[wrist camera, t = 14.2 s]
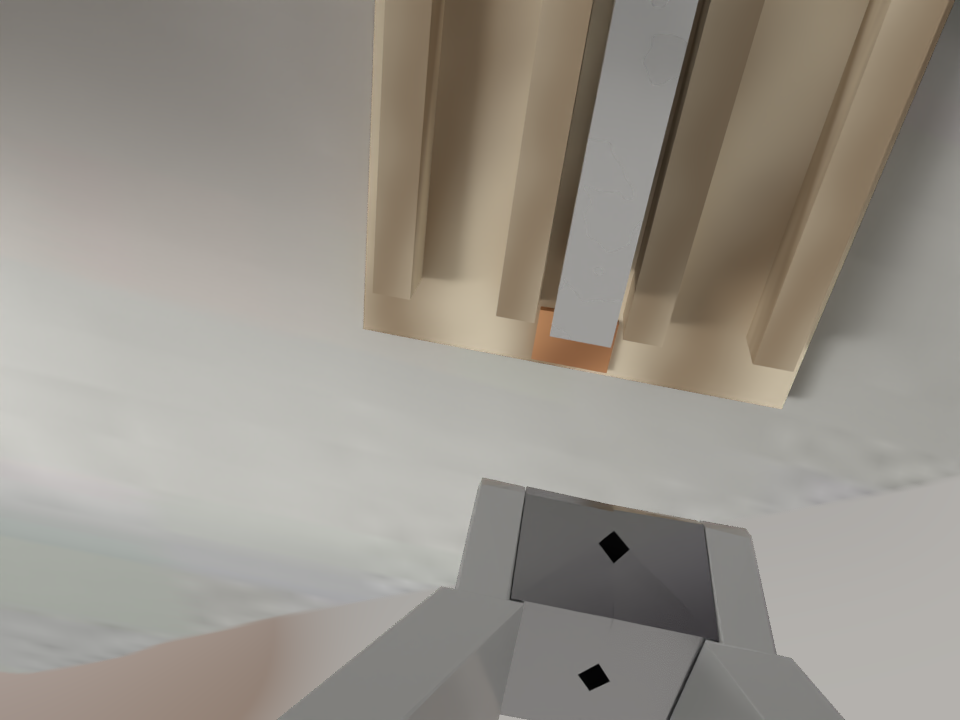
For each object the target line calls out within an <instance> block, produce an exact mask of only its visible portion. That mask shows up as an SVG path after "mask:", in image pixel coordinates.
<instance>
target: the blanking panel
mask: <svg viewBox="0 0 960 720" xmlns="http://www.w3.org/2000/svg"><path fill="white" fill-rule="evenodd" d="M698 1H699V0H614V5H613V10H612V15H611V20H610V25H609V31H608V36H607V41H606V46H605V51H604V56H603V61H602V66H601V71H600V76H599V82H598V87H597V92H596V97H595V102H594V107H593V112H592V117H591V122H590V127H589V133H588V138H587V143H586V148H585V153H584V158H583V163H582V168H581V173H580V178H579V184H578V189H577V194H576V199H575V204H574V209H573V214H572V219H571V224H570V229H569V235H568V240H567V245H566V250H565V255H564V260H563V266H562V271H561V277H560V282H559V287H558V293H557V298H556V304H555V309H554V315H553V320H552V326H551V331H550V336H551V337H556V338H562V339H567V340H572V341H577V342H583V343H588V344H593V345H599V346H604V347H609V348H611V345H612V341H613V337H614V333H615V329H616V326H617V322H618V318H619V314H620V310H621V306H622V302H623V298H624V294H625V290H626V286H627V282H628V278H629V274H630V270H631V266H632V262H633V258H634V254H635V250H636V246H637V242H638V238H639V234H640V230H641V226H642V222H643V219H644V215H645V211H646V207H647V203H648V199H649V195H650V191H651V187H652V183H653V179H654V175H655V171H656V167H657V163H658V159H659V155H660V151H661V147H662V143H663V139H664V135H665V131H666V127H667V123H668V119H669V115H670V111H671V108H672V104H673V100H674V96H675V92H676V88H677V84H678V80H679V76H680V72H681V68H682V64H683V60H684V56H685V52H686V48H687V44H688V40H689V36H690V32H691V28H692V24H693V20H694V16H695V12H696V8H697V4H698Z"/></svg>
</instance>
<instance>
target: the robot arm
mask: <svg viewBox="0 0 960 720" xmlns="http://www.w3.org/2000/svg"><path fill="white" fill-rule="evenodd" d="M500 714H501V715H506V716H512V717H517V718H522V719H528V720H845V719H844V718H843V717H842V716H841V715H840V713H838V711H837V710H836V709H835V708H834V707H833V705H832V704H831V703H830V702H829V701H828V700H827V698H826V697H825V696H824V695H823V694H822V693H821V692H820V690H819V689H818V688H817V687H816V686H815V685H814V684H813V682H812V681H811V680H810V679H809V678H808V677H807V675H806V674H805V673H804V672H803V671H802V670H801V668H800V667H799V666H798V665H797V664H796V663H795V662H794V660H793V659H792V658H789V657H784V656H780V655H777V654H776V649H775V644H774V640H773V635H772V630H771V626H770V622H769V616H768V612H767V607H766V602H765V598H764V593H763V589H762V584H761V579H760V574H759V570H758V565H757V560H756V555H755V551H754V546H753V541H752V537H751V535H750V534H749V532H748V531H747V530H746V529H744V528H739V527H733V526H728V525H722V524H716V523H711V522H705V521H700V522H698V521H696V520H691V519H685V518H680V517H675V516H669V515H664V514H659V513H653V512H648V511H643V510H637V509H632V508H626V507H621V506H616V505H610V504H605V503H600V502H596V501H591V500H587V499H582V498H578V497H573V496H568V495H564V494H559V493H555V492H550V491H545V490H541V489H536V488H532V487H526V491H525V487H523V486H518V485H514V484H509V483H505V482H500V481H496V480H491V479H487V478H482V480H481V482H480V484H479V486H478V490H477V495H476V499H475V503H474V508H473V512H472V516H471V521H470V525H469V529H468V534H467V538H466V542H465V547H464V551H463V555H462V560H461V564H460V568H459V573H458V577H457V581H456V586H455V589H453V588H447V587H442V586H441V587H440V588H439V589H437V590H436V591H435V592H434V593H433V594H431V595H430V596H429V597H428V598H426V599H425V600H424V601H423V602H422V603H420V604H419V605H418V606H417V607H415V608H414V609H413V610H412V611H410V612H409V613H408V614H407V615H405V616H404V617H403V618H402V619H401V620H399V621H398V622H397V623H395V625H393V626H392V627H391V628H389V629H388V630H387V631H386V632H384V633H383V634H382V635H381V636H379V637H378V638H377V639H376V640H375V641H373V642H372V643H371V644H370V645H368V646H367V647H366V648H365V649H364V650H362V651H361V652H360V653H358V654H357V655H356V656H355V657H354V658H353V659H351V660H350V661H349V662H347V663H346V664H345V665H344V666H342V667H341V668H340V669H339V670H338V671H336V672H335V673H334V674H333V675H331V676H330V677H329V678H328V679H326V680H325V681H324V682H323V683H322V684H320V685H319V686H318V687H317V688H315V689H314V690H313V691H312V692H310V693H309V694H308V695H307V696H306V697H304V698H303V699H302V700H300V701H299V702H298V703H297V704H296V705H294V706H293V707H292V708H291V709H289V710H288V711H287V712H286V713H285V714H283V715H282V716H281V717H279V718H278V719H277V720H498V719H499V715H500Z"/></svg>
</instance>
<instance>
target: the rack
mask: <svg viewBox="0 0 960 720" xmlns="http://www.w3.org/2000/svg"><path fill="white" fill-rule="evenodd" d="M954 2H955V0H699V1H698V4H697V8H696V12H695V16H694V20H693V24H692V28H691V32H690V36H689V40H688V44H687V48H686V52H685V56H684V60H683V64H682V68H681V72H680V76H679V80H678V84H677V88H676V92H675V96H674V100H673V104H672V108H671V111H670V115H669V119H668V123H667V127H666V131H665V135H664V139H663V143H662V147H661V151H660V155H659V159H658V163H657V167H656V171H655V175H654V179H653V183H652V187H651V191H650V195H649V199H648V203H647V207H646V211H645V215H644V219H643V222H642V226H641V230H640V234H639V238H638V242H637V246H636V250H635V254H634V258H633V262H632V266H631V270H630V274H629V278H628V282H627V286H626V290H625V294H624V298H623V302H622V306H621V310H620V314H619V318H618V322H617V326H616V329H615V333H614V337H613V341H612V345H611V348H609V347H604V346H599V345H593V344H588V343H583V342H577V341H572V340H567V339H562V338H556V337H551V336H550V331H551V326H552V320H553V315H554V309H555V304H556V298H557V293H558V287H559V282H560V277H561V271H562V266H563V260H564V255H565V250H566V245H567V240H568V235H569V229H570V224H571V219H572V214H573V209H574V204H575V199H576V194H577V189H578V184H579V178H580V173H581V168H582V163H583V158H584V153H585V148H586V143H587V138H588V133H589V127H590V122H591V117H592V112H593V107H594V102H595V97H596V92H597V87H598V82H599V76H600V71H601V66H602V61H603V56H604V51H605V46H606V41H607V36H608V31H609V25H610V20H611V15H612V10H613V5H614V0H375V15H374V43H373V71H372V99H371V127H370V155H369V182H368V210H367V238H366V266H365V294H364V322H363V329H366V330H372V331H377V332H382V333H387V334H392V335H398V336H403V337H408V338H413V339H418V340H424V341H429V342H434V343H439V344H444V345H450V346H455V347H460V348H465V349H470V350H476V351H481V352H486V353H491V354H496V355H502V356H507V357H512V358H517V359H523V360H528V361H533V362H538V363H543V364H549V365H554V366H559V367H564V368H569V369H575V370H580V371H585V372H590V373H595V374H601V375H606V376H611V377H616V378H621V379H627V380H632V381H637V382H642V383H647V384H653V385H658V386H663V387H668V388H674V389H679V390H684V391H689V392H694V393H700V394H705V395H710V396H715V397H720V398H726V399H731V400H736V401H741V402H746V403H752V404H757V405H762V406H767V407H772V408H778V409H782V408H783V405H784V403H785V400H786V398H787V396H788V393H789V391H790V389H791V386H792V384H793V382H794V379H795V377H796V375H797V372H798V370H799V367H800V365H801V363H802V360H803V358H804V356H805V353H806V351H807V349H808V346H809V344H810V341H811V339H812V337H813V334H814V332H815V330H816V327H817V325H818V323H819V320H820V318H821V316H822V313H823V311H824V308H825V306H826V304H827V301H828V299H829V297H830V294H831V292H832V290H833V287H834V285H835V282H836V280H837V278H838V275H839V273H840V271H841V268H842V266H843V264H844V261H845V259H846V257H847V254H848V252H849V249H850V247H851V245H852V242H853V240H854V238H855V235H856V233H857V231H858V228H859V226H860V223H861V221H862V219H863V216H864V214H865V212H866V209H867V207H868V205H869V202H870V200H871V198H872V195H873V193H874V190H875V188H876V186H877V183H878V181H879V179H880V176H881V174H882V172H883V169H884V167H885V164H886V162H887V160H888V157H889V155H890V153H891V150H892V148H893V146H894V143H895V141H896V139H897V136H898V134H899V131H900V129H901V127H902V124H903V122H904V120H905V117H906V115H907V113H908V110H909V108H910V105H911V103H912V101H913V98H914V96H915V94H916V91H917V89H918V87H919V84H920V82H921V80H922V77H923V75H924V72H925V70H926V68H927V65H928V63H929V61H930V58H931V56H932V54H933V51H934V49H935V46H936V44H937V42H938V39H939V37H940V35H941V32H942V30H943V28H944V25H945V23H946V21H947V18H948V16H949V13H950V11H951V9H952V6H953V4H954Z"/></svg>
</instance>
